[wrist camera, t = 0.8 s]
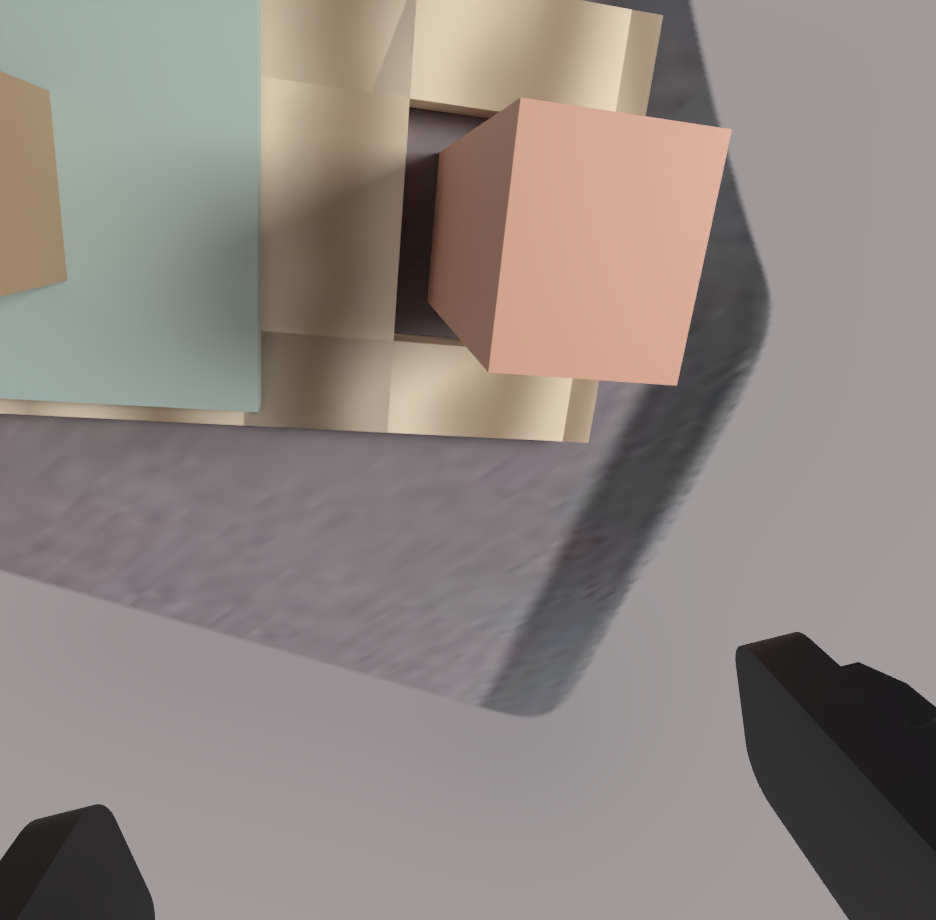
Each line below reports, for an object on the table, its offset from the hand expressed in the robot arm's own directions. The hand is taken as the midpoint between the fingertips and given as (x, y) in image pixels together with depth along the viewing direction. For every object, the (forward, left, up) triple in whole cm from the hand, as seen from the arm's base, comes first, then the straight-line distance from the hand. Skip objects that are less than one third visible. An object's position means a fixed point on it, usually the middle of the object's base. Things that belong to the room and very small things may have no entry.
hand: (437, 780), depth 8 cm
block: (+5, +6, -23) cm, 24 cm away
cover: (-9, +6, -21) cm, 24 cm away
